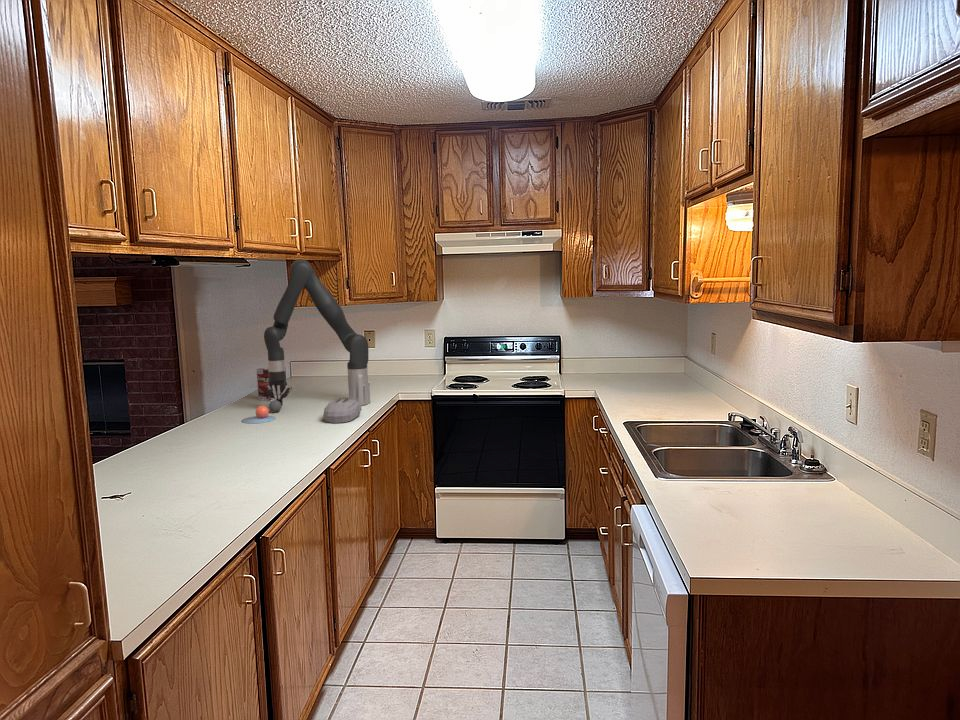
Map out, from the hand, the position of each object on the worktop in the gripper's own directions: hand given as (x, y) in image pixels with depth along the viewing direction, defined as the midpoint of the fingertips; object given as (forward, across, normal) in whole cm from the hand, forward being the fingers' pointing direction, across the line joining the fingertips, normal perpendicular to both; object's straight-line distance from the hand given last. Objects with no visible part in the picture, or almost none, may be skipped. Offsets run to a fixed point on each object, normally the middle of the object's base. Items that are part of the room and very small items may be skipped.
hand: (279, 407), depth 297 cm
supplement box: (+2, -18, +23) cm, 29 cm away
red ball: (-1, 0, -16) cm, 16 cm away
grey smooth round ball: (-1, 0, -4) cm, 4 cm away
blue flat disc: (+2, 0, -19) cm, 19 cm away
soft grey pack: (+2, +36, -14) cm, 39 cm away
